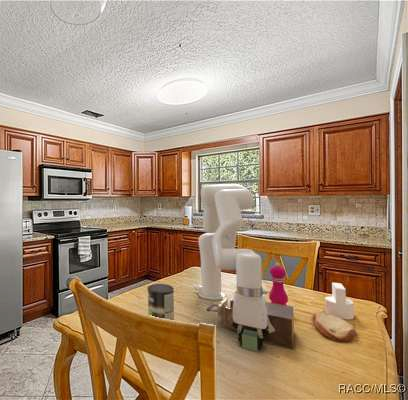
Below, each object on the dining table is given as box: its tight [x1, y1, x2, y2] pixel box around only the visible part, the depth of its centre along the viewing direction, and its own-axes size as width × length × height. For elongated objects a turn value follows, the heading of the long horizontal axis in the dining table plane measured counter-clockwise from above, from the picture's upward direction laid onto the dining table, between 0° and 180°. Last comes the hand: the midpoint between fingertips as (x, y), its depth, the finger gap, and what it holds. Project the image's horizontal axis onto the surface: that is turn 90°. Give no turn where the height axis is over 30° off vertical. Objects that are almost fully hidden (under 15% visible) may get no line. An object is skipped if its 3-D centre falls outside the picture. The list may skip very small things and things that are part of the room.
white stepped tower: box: [324, 282, 355, 320], centre depth 113 cm, size 9×9×12 cm
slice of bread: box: [313, 310, 357, 343], centre depth 101 cm, size 18×18×4 cm
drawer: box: [205, 297, 243, 331], centre depth 104 cm, size 18×11×8 cm, turn 54°
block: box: [241, 329, 259, 352], centre depth 90 cm, size 4×4×4 cm
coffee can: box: [147, 283, 175, 321], centre depth 109 cm, size 10×10×14 cm
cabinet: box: [243, 301, 295, 350], centre depth 97 cm, size 15×13×10 cm
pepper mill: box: [268, 262, 289, 306], centre depth 121 cm, size 7×7×20 cm
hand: (250, 345), depth 90 cm, fingers closed on block, 4 cm apart
